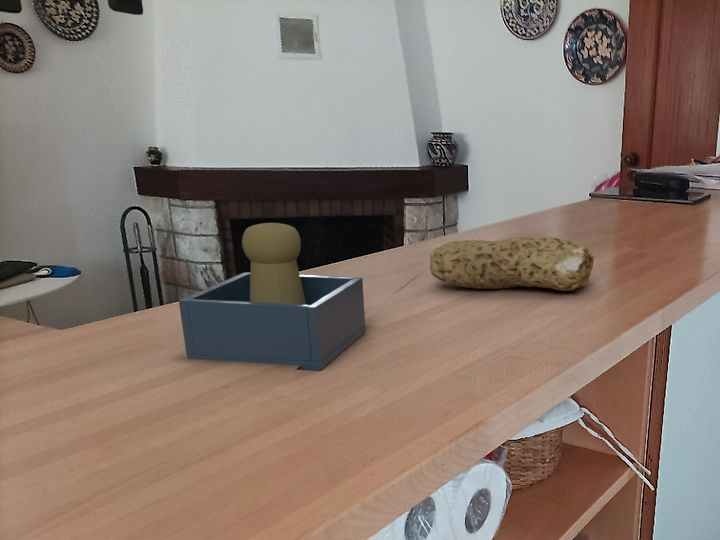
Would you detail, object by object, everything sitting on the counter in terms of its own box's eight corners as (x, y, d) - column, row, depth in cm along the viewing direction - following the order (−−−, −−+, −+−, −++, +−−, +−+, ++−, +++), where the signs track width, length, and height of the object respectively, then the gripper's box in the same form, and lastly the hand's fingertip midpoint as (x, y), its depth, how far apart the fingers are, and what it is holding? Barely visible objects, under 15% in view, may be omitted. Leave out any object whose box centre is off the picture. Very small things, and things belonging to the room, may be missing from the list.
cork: (256, 330, 78) (243, 219, 74) (317, 329, 79) (308, 219, 75) (241, 348, 73) (227, 228, 69) (308, 347, 73) (297, 229, 70)
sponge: (590, 291, 107) (456, 251, 110) (602, 238, 102) (462, 198, 106) (562, 332, 96) (415, 286, 100) (574, 275, 92) (420, 229, 95)
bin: (187, 362, 71) (178, 300, 69) (250, 326, 83) (244, 272, 81) (320, 370, 70) (315, 307, 68) (365, 332, 81) (362, 277, 79)
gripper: (170, -258, 53) (203, 19, 59) (-60, -252, 55) (-6, 16, 61) (101, -313, 46) (146, 7, 52) (-161, -304, 48) (-88, 5, 54)
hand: (64, 12), depth 57 cm, fingers open, 9 cm apart
